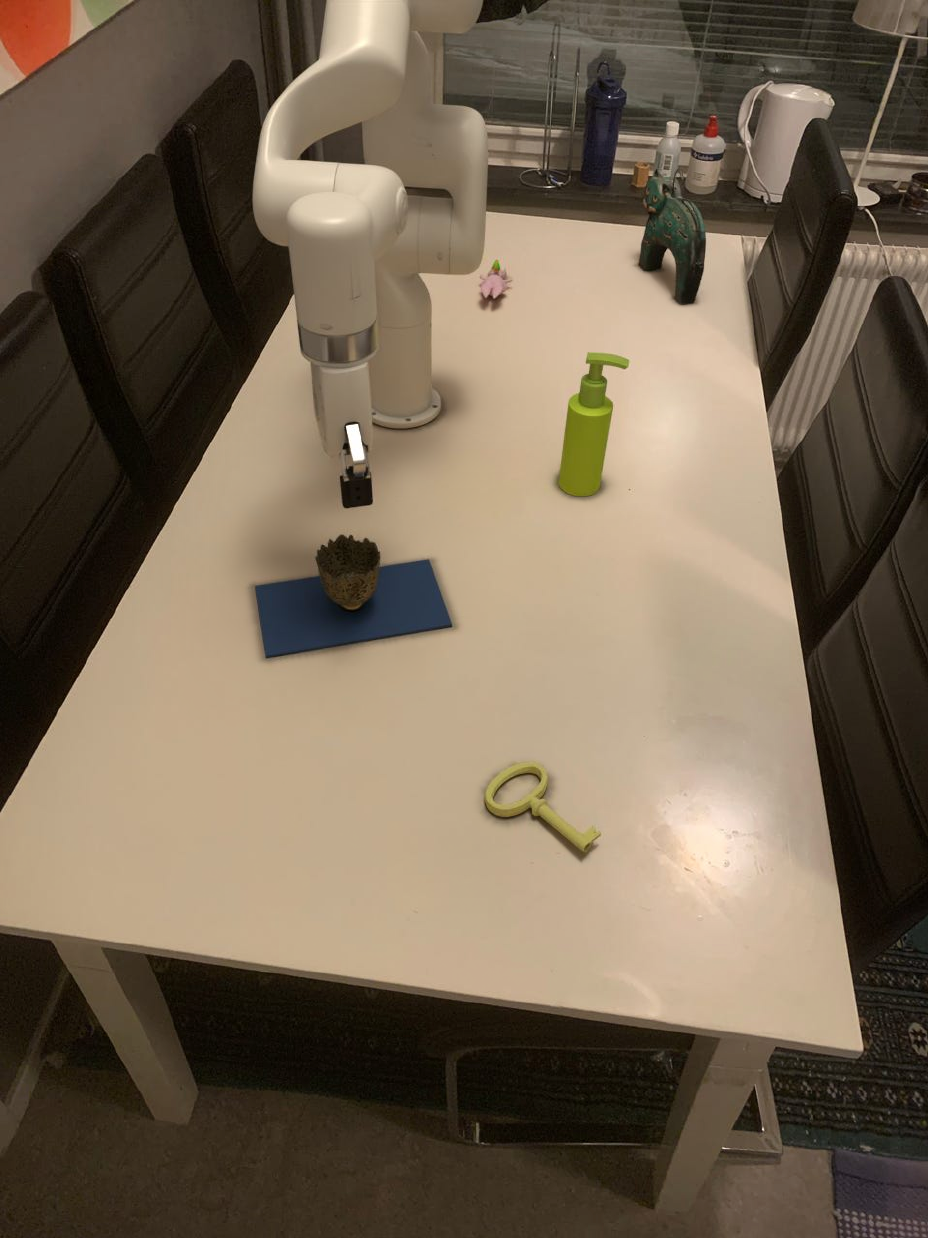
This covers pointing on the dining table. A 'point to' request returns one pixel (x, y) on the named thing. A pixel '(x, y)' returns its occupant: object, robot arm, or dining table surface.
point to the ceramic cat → (673, 235)
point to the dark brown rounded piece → (349, 571)
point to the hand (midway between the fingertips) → (349, 477)
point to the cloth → (315, 621)
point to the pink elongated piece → (495, 281)
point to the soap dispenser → (588, 429)
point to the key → (536, 804)
